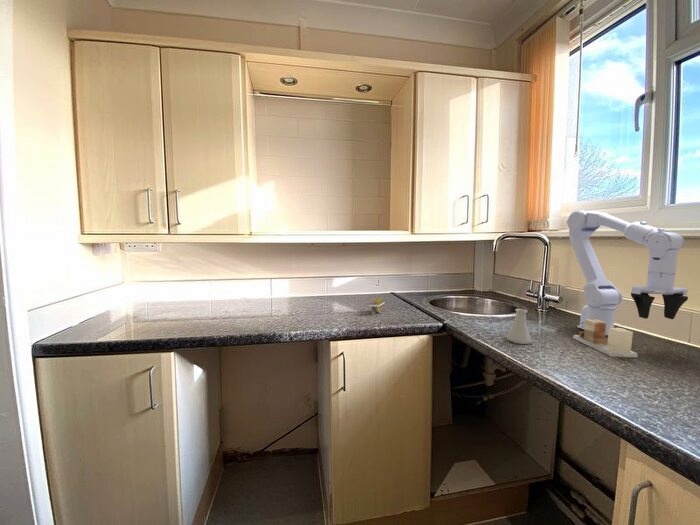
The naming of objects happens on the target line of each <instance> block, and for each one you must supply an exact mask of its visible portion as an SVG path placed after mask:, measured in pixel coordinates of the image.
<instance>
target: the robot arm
mask: <svg viewBox="0 0 700 525" xmlns="http://www.w3.org/2000/svg"><path fill="white" fill-rule="evenodd" d="M566 223H567V227H568V229H569V230H568V232H569V233H568V238H569V242H570V244H571V246H572V249H573V252H574V254H575V256H576V259H577V261H578V264H579V267H580V268H581V271H582V274H583V276H584V278H585V282H586V283H585V284H584V286H583V287H582V289H583V292H584V295H583V298H584V301H585V303H586V305H584V306H582V308H581V310H580V321H579V325H577V328H579V329H582V330H583V331H585V321H586V319H598V320H600V321H603V322H606V332H605V336H608V333H609V328H615V327H614V326H615V318H616V309H617V308H618V305H620V304H621V303H622V301H623V295H622V293H621V291H620V290H619V289H618V288H617V287H616V286H615V284H614V283H613V282H612V281H611V280H609V279H608V278H606V275H605V272H604V271H603V269H602V266H601V264H600V261H599V259H598V257H597V255H596V252H595V250H594V247H593V246H592V242H591V240H590V237H592V235H593V234H595V233H596V232H597V230H598V229H599V228H600V227H602V226H603V227H606V228H609V229H612V230H615V231H618V232H621V233H623V236H624V237H625V239H627V240H629V241H633V242H635V243H638V244H640V245H642V246H645V247H646V249H647V250H648V252H649V253H648V256H649V257H648V259H649V260H648V268H647V278H646V285H645V286H643V285H642V286H640V285H639V286H631V293H630V296H631V298H632V300H633V301H634V303H635V306H636V309H637V314H638V318H643V319H645V320H646V319H648V318H649V315H650V309H651V306H652V305H653V302H654V300H655V298H656V297H655V296H650V295H661V296H662V300H663V306H664V309H663V316H664V318H666V319H670V320H674V319H675V318H676V315H677V313H678V312H679V310H680V309H681V307H682V306H683V304H685V303H686V302H687V301H688V300H689V296H688V290H689V289H688V288H685V287H675V280H676V274H677V273H676V272H677V264H678V263H677V262H678V255H679V250H682V248H683V247H684V245H685V239H684V237H683V235H681V234H680V233H678V232H677V231H676V232H675V231H668V232H666V231H665V228H662V227H655V226H651V225H648V222H647V221H644V220H643V221H635V222H632V223H630V222H629V221H625V220H623V219H620V218H618V217H616V216H613V215H610V214H608V213H606V212H601V211H597V210H594V211H592V210H591V211H587V210H579V209H578V210H574V211H573V212H572V211H571V213H570V215H569V216H568V218H567V219H566Z"/></svg>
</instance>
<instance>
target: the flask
mask: <svg viewBox="0 0 700 525" xmlns="http://www.w3.org/2000/svg"><path fill="white" fill-rule="evenodd" d="M515 312H516V313H515V318H514V321H513V322H512V325H511V327H510V329H509V331H508V333H507V335H506V337H505V338H506V339H507V341H509V342H511V343H514V344H519V345H531V344H533V340H532V337H531V335H530V331H529V327H528V324H527V313H528V310H527V309H522V308H516V309H515Z"/></svg>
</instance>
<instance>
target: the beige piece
mask: <svg viewBox="0 0 700 525" xmlns="http://www.w3.org/2000/svg"><path fill="white" fill-rule="evenodd" d="M633 335H634V332H633V331H631V330H628V329H625V328H623V327H614V328H609V333H608V335H607V337H605V338H594V337H593V341H591V340H589V339H586V338H584V331H579V334H573V335H572V337H573V339H574V340H576V341H577V342H580V343H581V344H584V345H586V346H587V347H590V348H592V349H594V350H597V352H601V353H603V354H605V355H607V356H609V357H610V358H638V355H639V354H638V352H635V351H633V350H632V344H633Z"/></svg>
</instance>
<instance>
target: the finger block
mask: <svg viewBox="0 0 700 525" xmlns="http://www.w3.org/2000/svg"><path fill="white" fill-rule="evenodd" d="M583 332H584V338H586V339H589V340H591V341H593V337H594V338H606V335H605V332H606V322H603V321H600V320H598V319H586V321H585V330H583Z"/></svg>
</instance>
